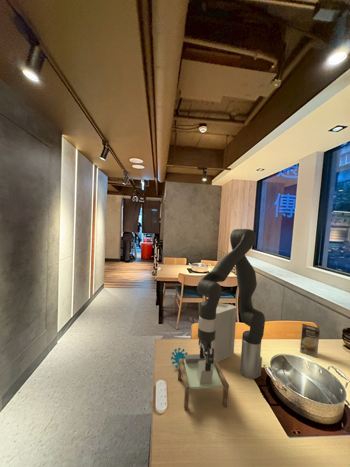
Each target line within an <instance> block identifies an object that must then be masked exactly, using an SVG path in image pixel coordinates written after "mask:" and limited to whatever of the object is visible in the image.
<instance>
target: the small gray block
mask: <svg viewBox="0 0 350 467" xmlns="http://www.w3.org/2000/svg"><path fill="white" fill-rule="evenodd" d="M212 375H213V368H212V365H211V371H205V360H204V361H198V369H197V376H198V380H199V384H211V381H212Z"/></svg>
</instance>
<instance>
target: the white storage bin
mask: <svg viewBox="0 0 350 467" xmlns="http://www.w3.org/2000/svg"><path fill="white" fill-rule="evenodd" d="M237 308H238V306H236V305H232V304H229V303H221V302H218V305H217V308H216V334H215V340H214V341H212V342H211V344H212V348H213V349H214V358H215V360H216V361H217V363H220V362H222V361H223V360H225V359H227V358H229V357H231V356H233V355H234V354H235V353H234V352H235V339H236V337H235V336H236V326H237V324H236V321H237ZM205 353H206V354H207V352H205Z"/></svg>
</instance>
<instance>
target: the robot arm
mask: <svg viewBox="0 0 350 467" xmlns="http://www.w3.org/2000/svg"><path fill="white" fill-rule="evenodd" d="M256 240H257V235H256V233H255V231H254V230H253V229H250V228H235V229H233V230H232V231H231V232H230V237H229V241H230V248H231V249H232V250H231V251H230V252H228V253H227V254H225V255H223V256H222V257H221V258H220V259H219V260H218V261H217V262H216V264H215V265H214V267H213V268H212V269H211V271H209V272H207V274H205V275H204V276H203V277H201V279H200V280H199V281H198V283H197V285H196V286H197V287H196V290H197V293H198V294H200V295H201V296H203V297H206V298H207V300H206V301H202V302H200V304H199V305H200V306H199V314H198V316H199V317H198V321H197V322H198V323H197V338H198V346H199V354H200V358H205V371H211V364H213V363H214V349H213V348H212V344H211V342H212V341H214V340H215V334H216V308H217V305H218V303H220V299H221V296H222V291H223V290H222V287H221V284H219V283H221V282H225V280H226V279H227V278H228V276H229V275H230V274H231V272H232V271H233V269H234V268H235V273H236V280H237V281H236V282H237V288H238V295H239V313H240V314H239V316H240V319H241V322H242V323H244V324H245V325H247V327H249V330H244V331H243V332H242V335H241V336H242V338H241V352H240V373H241V374H242V375H243V376H244V377H246V378H248V379H251V380H253V379H258V378H259V377H261V376H262V363H263V357H262V355H261V351H262V340H263V337H264V333H265V332H264V331H265V325H266V324H265V322H266V318H265V314H264V313H263V312H262V311H260V310H258V309H256V308H254V307H253V301H252V300H253V299H252V298H253V297H252V296H253V295H254V293H255V290H256V288H257V287H258V286H257V285H258V284H257V275H256V270H255V269H254V267H253V266H252V264H251V263H250V261H249V259H248V258H247V256H246V255H247V253H248V252H249V251H251V249H252V248H253V246H254V245H255V244H256V242H257V241H256ZM205 352H207V354H206V353H205ZM209 358H210V359H209Z"/></svg>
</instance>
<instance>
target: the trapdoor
mask: <svg viewBox="0 0 350 467" xmlns="http://www.w3.org/2000/svg"><path fill="white" fill-rule="evenodd" d="M184 356H185V359H184V365H185V372H186V376H187V379H188V383H189V386H190V388H189V390H195V389H196V390H198V389H214V388H215V389H216V388H222V387H223V385H222V383H221V381H220V378H219V376H218V373H217V370H216V367H215V365H214V363H213V364H211V365H212V368H213V375H212V381H211V384H199V380H198V376H197V369H198V361H204V360H205V358H200V353H199V354H194V353H193V354H188V355H184ZM209 359H210V358H209Z"/></svg>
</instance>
